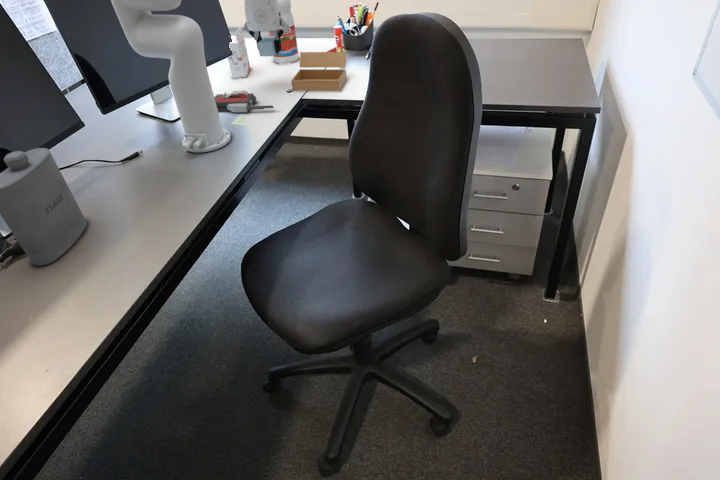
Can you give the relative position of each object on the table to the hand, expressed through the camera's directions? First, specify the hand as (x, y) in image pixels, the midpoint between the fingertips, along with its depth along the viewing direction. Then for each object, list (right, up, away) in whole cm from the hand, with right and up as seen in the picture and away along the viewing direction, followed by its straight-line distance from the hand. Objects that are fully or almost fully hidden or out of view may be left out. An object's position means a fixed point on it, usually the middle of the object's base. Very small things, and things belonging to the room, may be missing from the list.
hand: (270, 51), depth 152 cm
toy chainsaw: (-7, -20, -6) cm, 22 cm away
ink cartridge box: (-13, -1, +17) cm, 22 cm away
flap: (+16, -1, +5) cm, 17 cm away
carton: (+15, -9, +4) cm, 18 cm away
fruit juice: (+1, +7, +26) cm, 27 cm away
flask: (-32, -60, -54) cm, 87 cm away
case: (0, 0, 0) cm, 0 cm away
